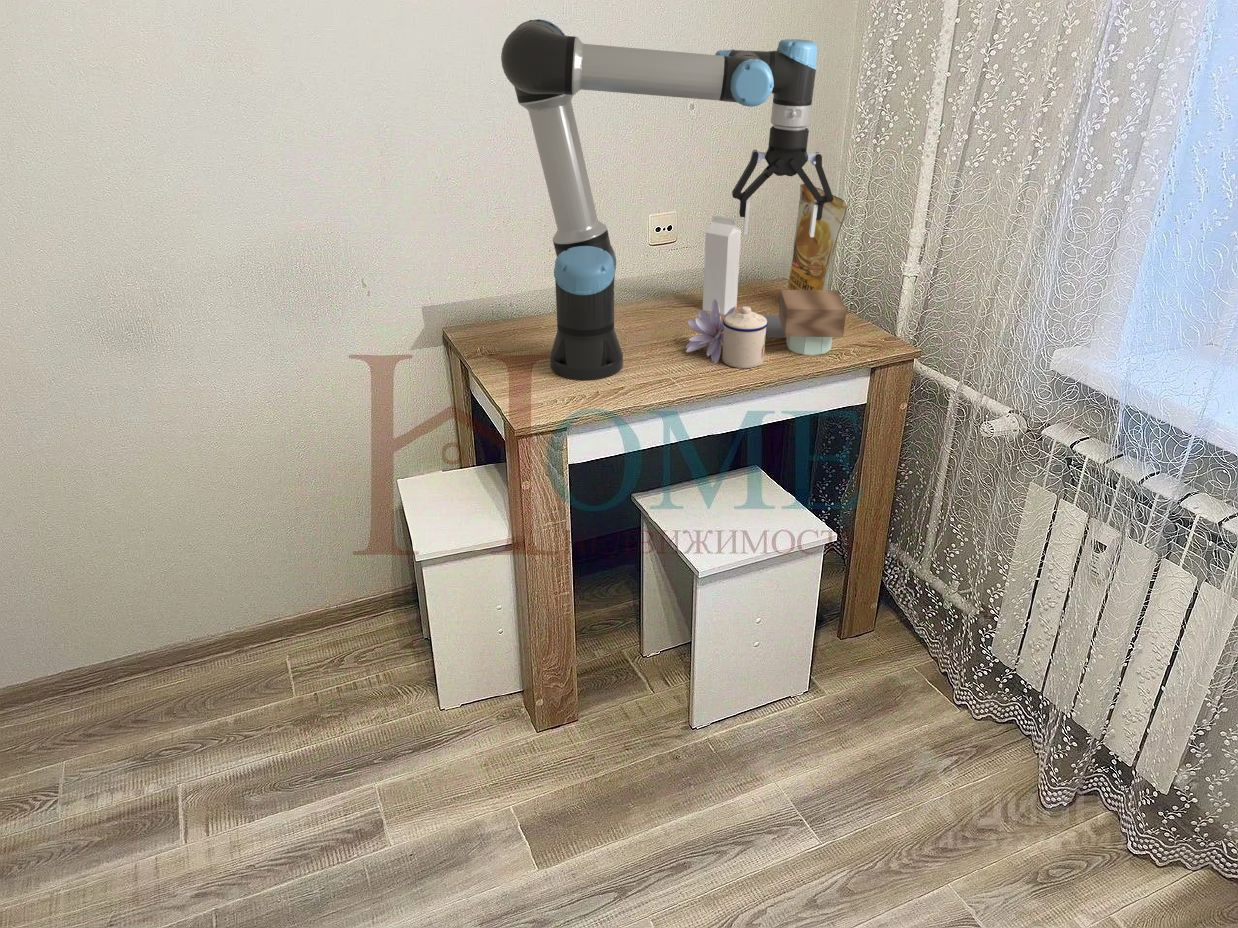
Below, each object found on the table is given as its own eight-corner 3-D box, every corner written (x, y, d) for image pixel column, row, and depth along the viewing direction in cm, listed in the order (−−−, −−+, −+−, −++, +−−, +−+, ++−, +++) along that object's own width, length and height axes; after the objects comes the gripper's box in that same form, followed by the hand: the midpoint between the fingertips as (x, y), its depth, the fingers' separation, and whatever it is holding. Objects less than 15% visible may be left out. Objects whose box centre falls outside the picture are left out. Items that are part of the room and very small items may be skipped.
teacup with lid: (771, 366, 192) (775, 313, 186) (730, 371, 190) (733, 317, 184) (749, 345, 202) (753, 294, 196) (710, 349, 200) (712, 297, 194)
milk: (714, 304, 225) (719, 212, 214) (736, 309, 222) (742, 216, 211) (701, 311, 221) (705, 218, 210) (724, 316, 218) (729, 222, 207)
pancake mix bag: (803, 296, 229) (814, 180, 216) (836, 323, 213) (850, 200, 199) (777, 298, 228) (786, 182, 214) (809, 326, 212) (821, 202, 198)
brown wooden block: (784, 336, 193) (787, 309, 190) (778, 316, 204) (780, 289, 201) (843, 337, 193) (846, 309, 190) (834, 316, 203) (837, 290, 200)
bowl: (790, 356, 197) (792, 334, 194) (784, 340, 205) (786, 319, 202) (833, 356, 197) (835, 334, 194) (825, 340, 205) (827, 318, 202)
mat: (736, 338, 206) (736, 337, 206) (733, 316, 218) (733, 314, 218) (800, 339, 205) (800, 338, 205) (793, 316, 217) (793, 315, 217)
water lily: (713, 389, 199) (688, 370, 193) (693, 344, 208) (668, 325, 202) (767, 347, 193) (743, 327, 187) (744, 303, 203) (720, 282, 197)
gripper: (726, 127, 179) (718, 236, 190) (857, 132, 178) (841, 241, 189) (725, 121, 186) (717, 226, 196) (851, 125, 185) (836, 231, 195)
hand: (778, 234), depth 193 cm, fingers open, 13 cm apart
